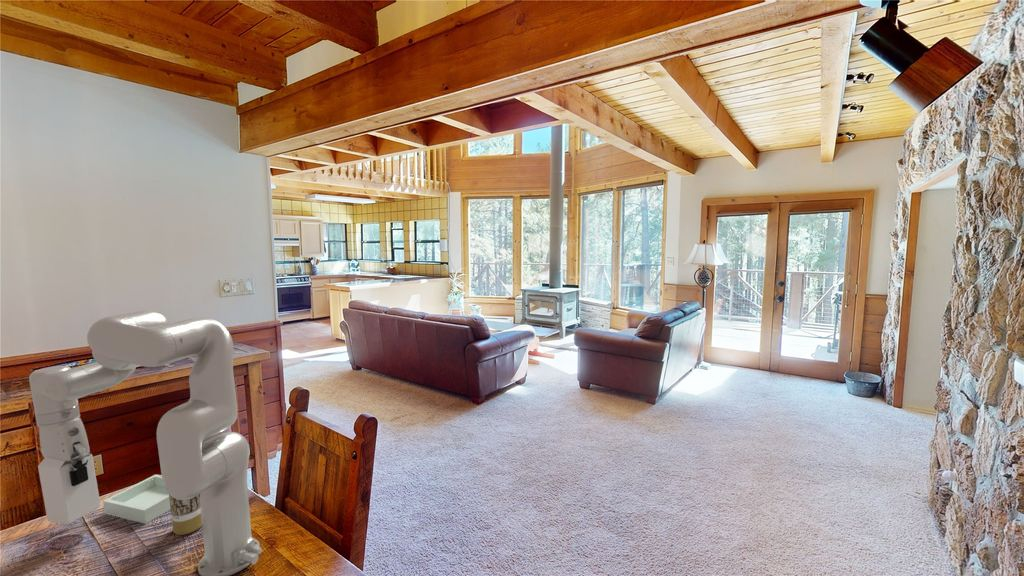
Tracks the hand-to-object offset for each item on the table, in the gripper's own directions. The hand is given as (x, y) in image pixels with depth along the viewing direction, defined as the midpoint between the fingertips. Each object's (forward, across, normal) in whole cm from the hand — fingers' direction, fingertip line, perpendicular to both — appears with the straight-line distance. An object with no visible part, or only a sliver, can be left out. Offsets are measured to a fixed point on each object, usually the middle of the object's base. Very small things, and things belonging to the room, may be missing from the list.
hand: (69, 480), depth 109 cm
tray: (+16, -3, -16) cm, 23 cm away
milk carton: (+10, 0, 0) cm, 10 cm away
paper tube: (+17, -24, -11) cm, 31 cm away
